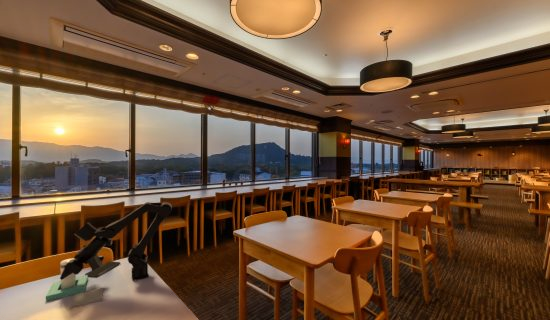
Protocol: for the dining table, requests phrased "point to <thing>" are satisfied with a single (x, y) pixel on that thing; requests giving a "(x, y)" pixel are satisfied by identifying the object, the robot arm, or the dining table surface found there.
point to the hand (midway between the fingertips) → (64, 275)
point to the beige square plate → (86, 297)
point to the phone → (102, 269)
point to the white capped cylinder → (69, 280)
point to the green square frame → (57, 293)
